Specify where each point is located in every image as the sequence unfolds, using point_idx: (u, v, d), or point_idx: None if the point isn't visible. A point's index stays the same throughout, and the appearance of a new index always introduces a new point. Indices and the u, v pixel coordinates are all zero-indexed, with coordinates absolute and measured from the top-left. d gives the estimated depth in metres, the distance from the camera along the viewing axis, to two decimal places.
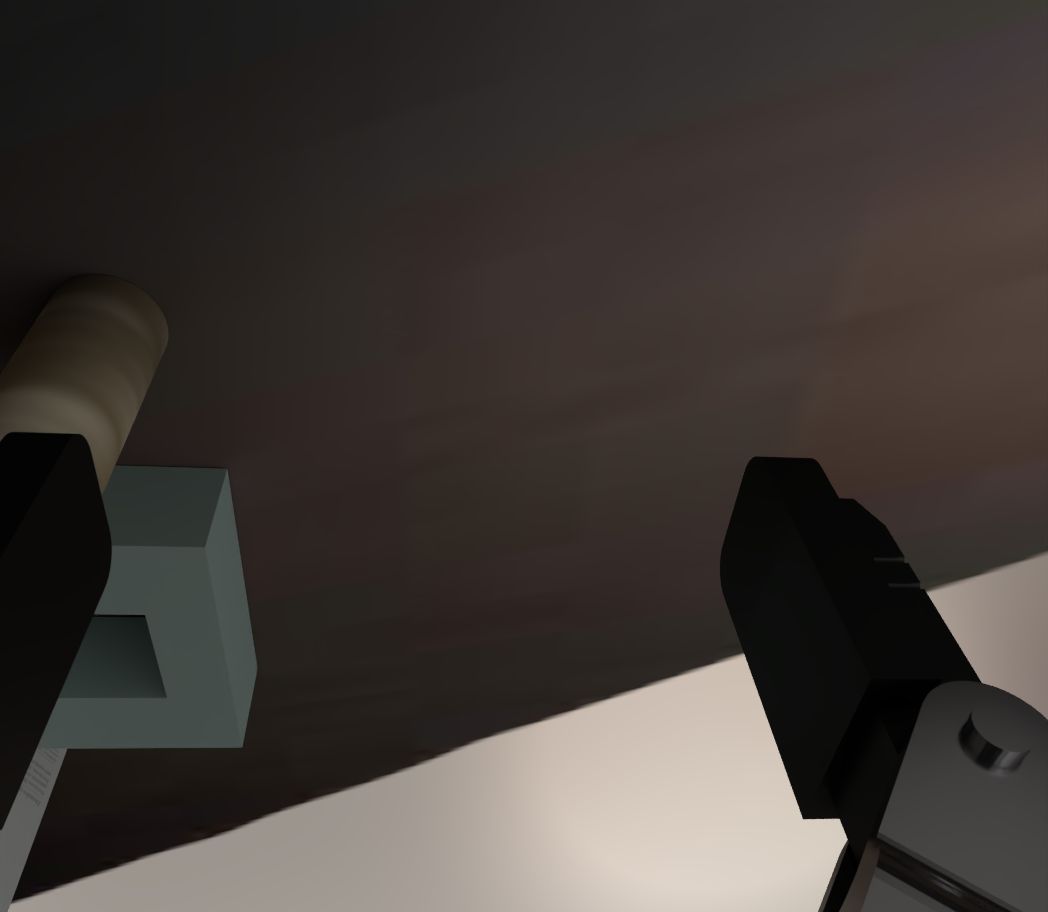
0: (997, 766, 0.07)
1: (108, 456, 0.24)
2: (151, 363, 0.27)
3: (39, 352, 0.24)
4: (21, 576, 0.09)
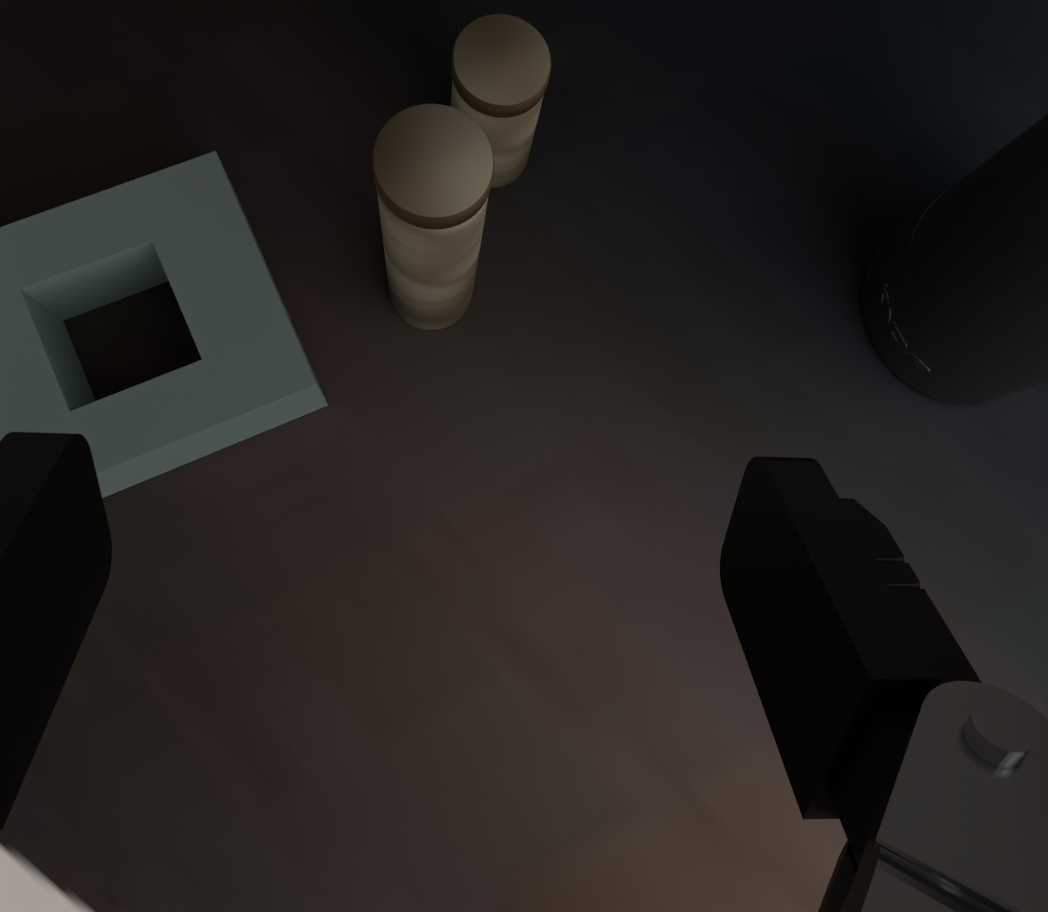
0: (997, 766, 0.07)
1: (454, 272, 0.32)
2: (449, 311, 0.37)
3: None
4: (20, 577, 0.09)
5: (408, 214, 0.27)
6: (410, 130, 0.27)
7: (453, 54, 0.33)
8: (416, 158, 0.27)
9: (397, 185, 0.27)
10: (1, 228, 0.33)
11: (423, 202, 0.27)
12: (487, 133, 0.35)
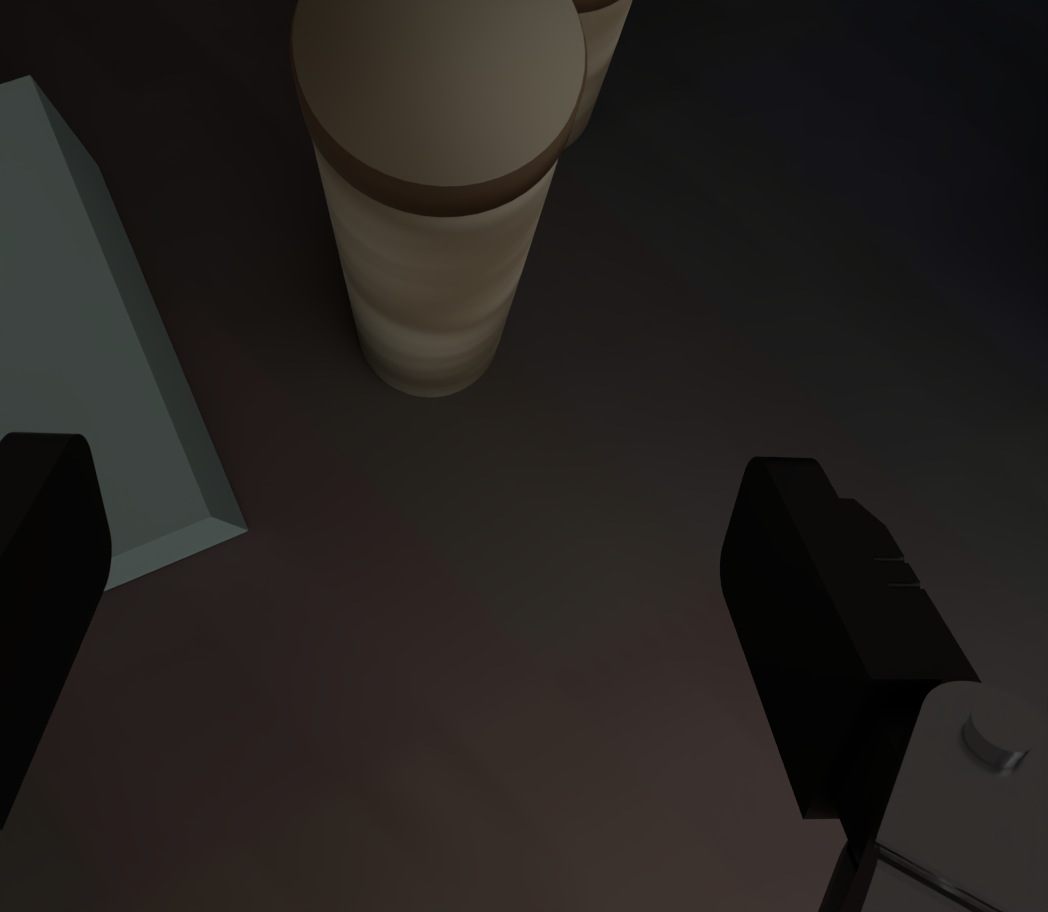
0: (997, 767, 0.07)
1: (476, 308, 0.16)
2: (462, 370, 0.21)
3: None
4: (20, 577, 0.09)
5: (378, 178, 0.11)
6: None
7: None
8: (399, 41, 0.11)
9: (351, 106, 0.11)
10: None
11: (415, 148, 0.11)
12: None
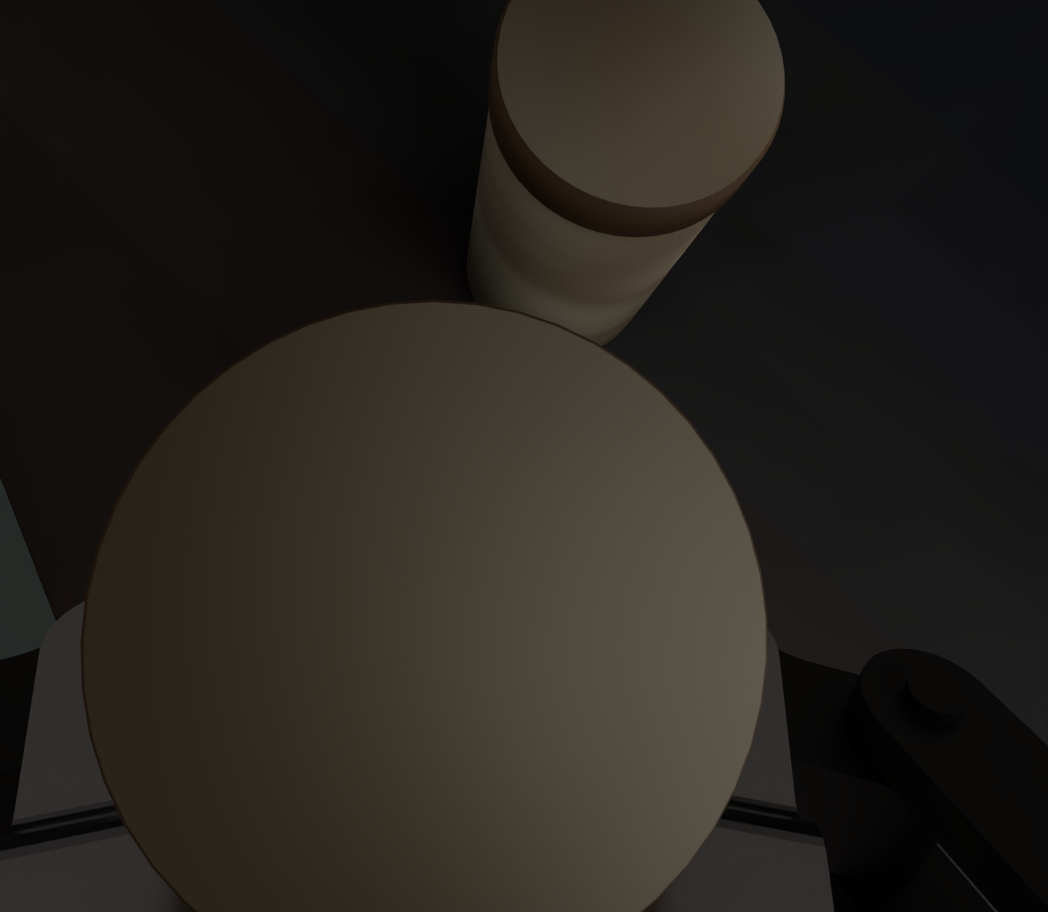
0: None
1: None
2: None
3: None
4: None
5: None
6: (309, 463, 0.05)
7: (498, 51, 0.11)
8: (341, 628, 0.05)
9: (223, 808, 0.04)
10: None
11: (378, 910, 0.04)
12: (580, 267, 0.13)
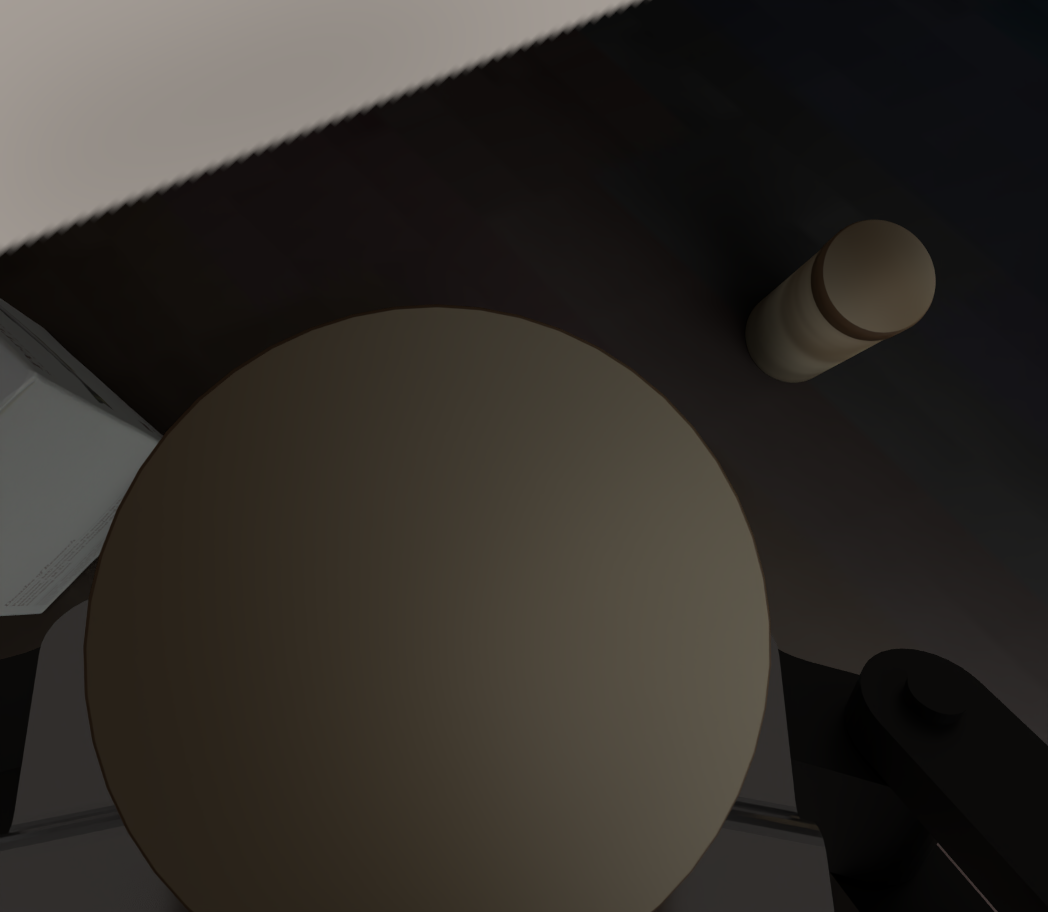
0: None
1: None
2: None
3: None
4: None
5: None
6: (315, 469, 0.05)
7: (824, 270, 0.28)
8: (344, 634, 0.05)
9: (227, 815, 0.04)
10: None
11: None
12: (837, 349, 0.30)
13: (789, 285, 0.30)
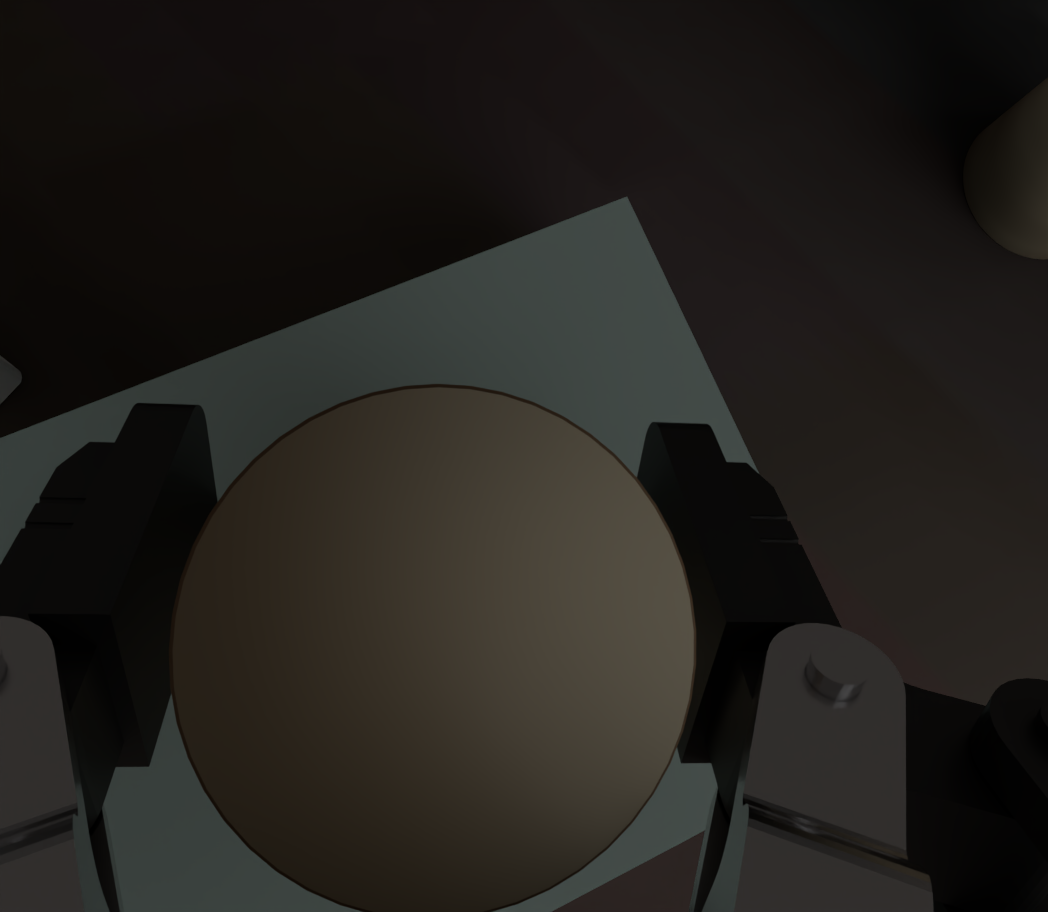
0: (831, 698, 0.08)
1: None
2: None
3: None
4: (163, 532, 0.09)
5: None
6: (342, 513, 0.06)
7: None
8: (366, 640, 0.06)
9: (279, 777, 0.06)
10: (163, 379, 0.14)
11: (396, 854, 0.06)
12: None
13: None
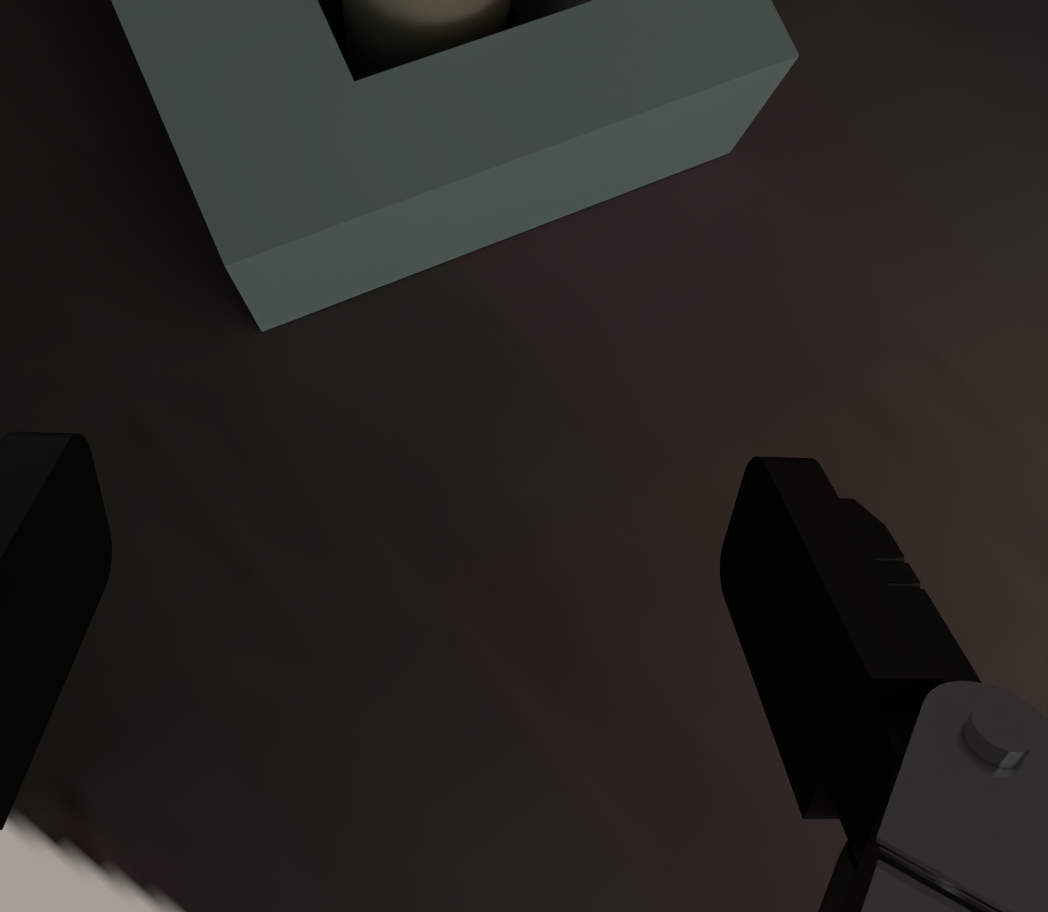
0: (997, 766, 0.07)
1: None
2: None
3: None
4: (20, 577, 0.09)
5: None
6: None
7: None
8: None
9: None
10: None
11: None
12: None
13: None
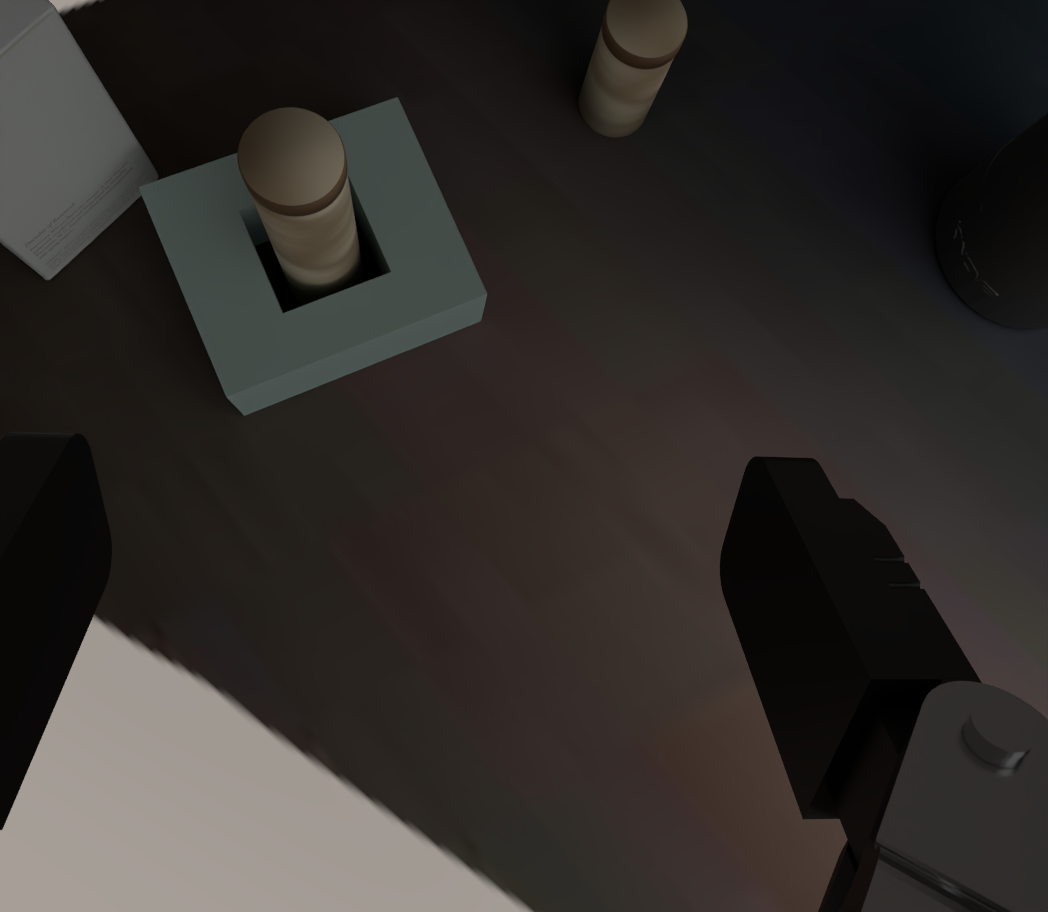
0: (997, 767, 0.07)
1: (328, 257, 0.36)
2: None
3: None
4: (21, 575, 0.09)
5: (268, 203, 0.31)
6: (271, 130, 0.31)
7: (606, 14, 0.39)
8: (276, 154, 0.31)
9: (258, 177, 0.31)
10: (221, 159, 0.39)
11: (281, 192, 0.31)
12: (627, 84, 0.41)
13: None
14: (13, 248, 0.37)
